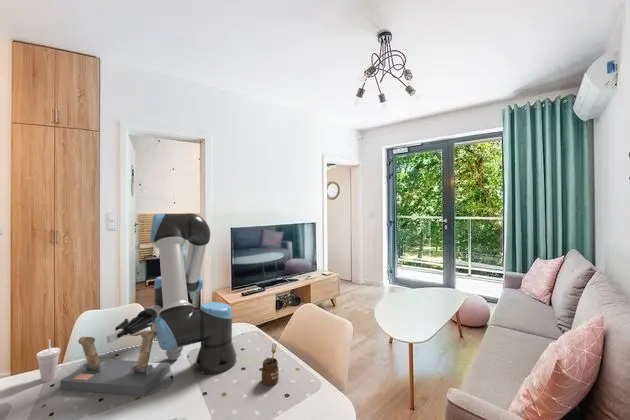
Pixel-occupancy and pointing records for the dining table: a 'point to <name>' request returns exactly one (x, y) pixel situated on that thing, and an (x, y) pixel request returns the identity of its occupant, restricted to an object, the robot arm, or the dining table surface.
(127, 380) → the switch unit
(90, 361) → the lever
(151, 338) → the lever
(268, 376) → the utensil holder
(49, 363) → the smoothie
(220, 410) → the dining table surface
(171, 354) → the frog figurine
